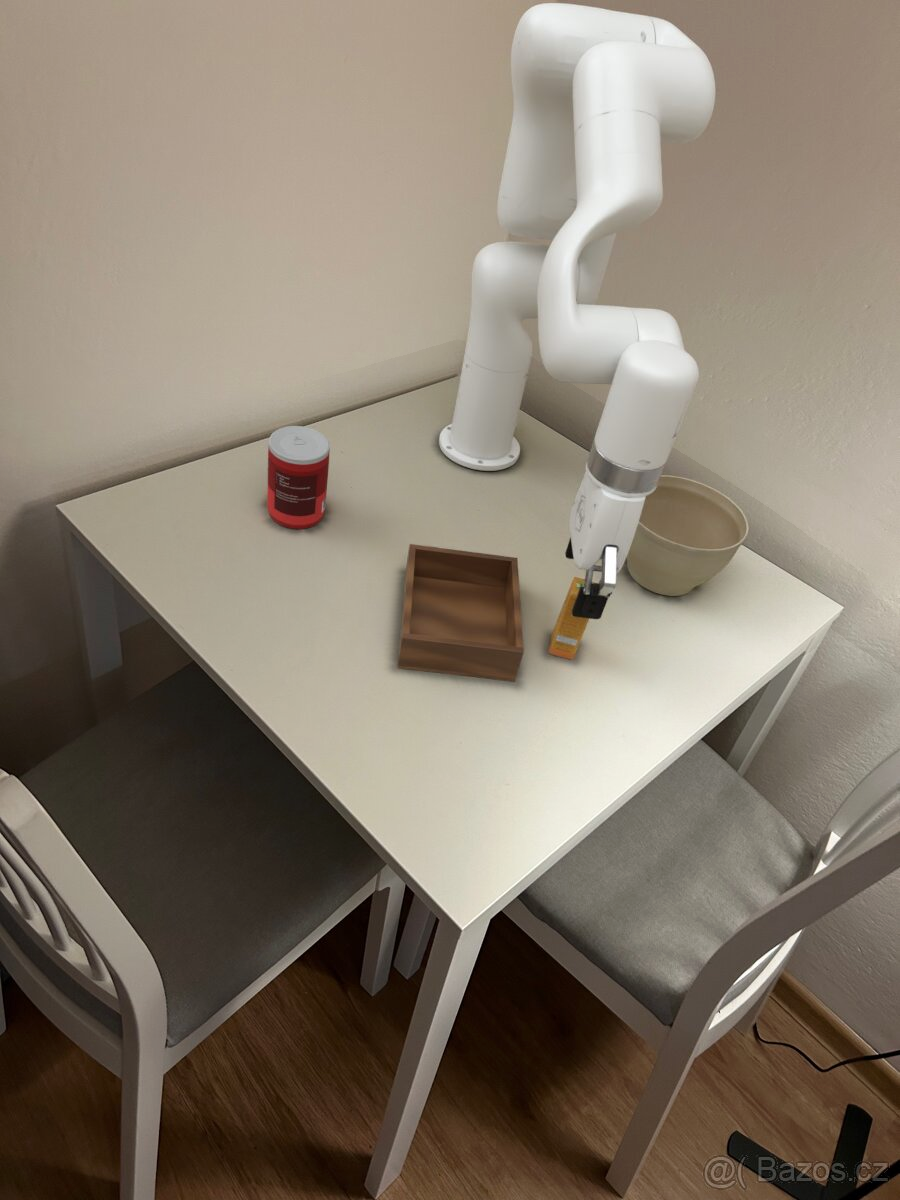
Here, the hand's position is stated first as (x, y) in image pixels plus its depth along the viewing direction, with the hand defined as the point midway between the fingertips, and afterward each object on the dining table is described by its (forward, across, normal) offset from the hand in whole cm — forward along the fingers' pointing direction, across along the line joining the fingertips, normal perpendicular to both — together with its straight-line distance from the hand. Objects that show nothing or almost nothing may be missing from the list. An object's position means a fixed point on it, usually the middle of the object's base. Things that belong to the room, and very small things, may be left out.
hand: (581, 586), depth 102 cm
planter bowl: (+10, -16, +15) cm, 24 cm away
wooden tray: (+10, -1, -13) cm, 16 cm away
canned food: (+11, -19, -35) cm, 41 cm away
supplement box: (+10, +1, 0) cm, 10 cm away
